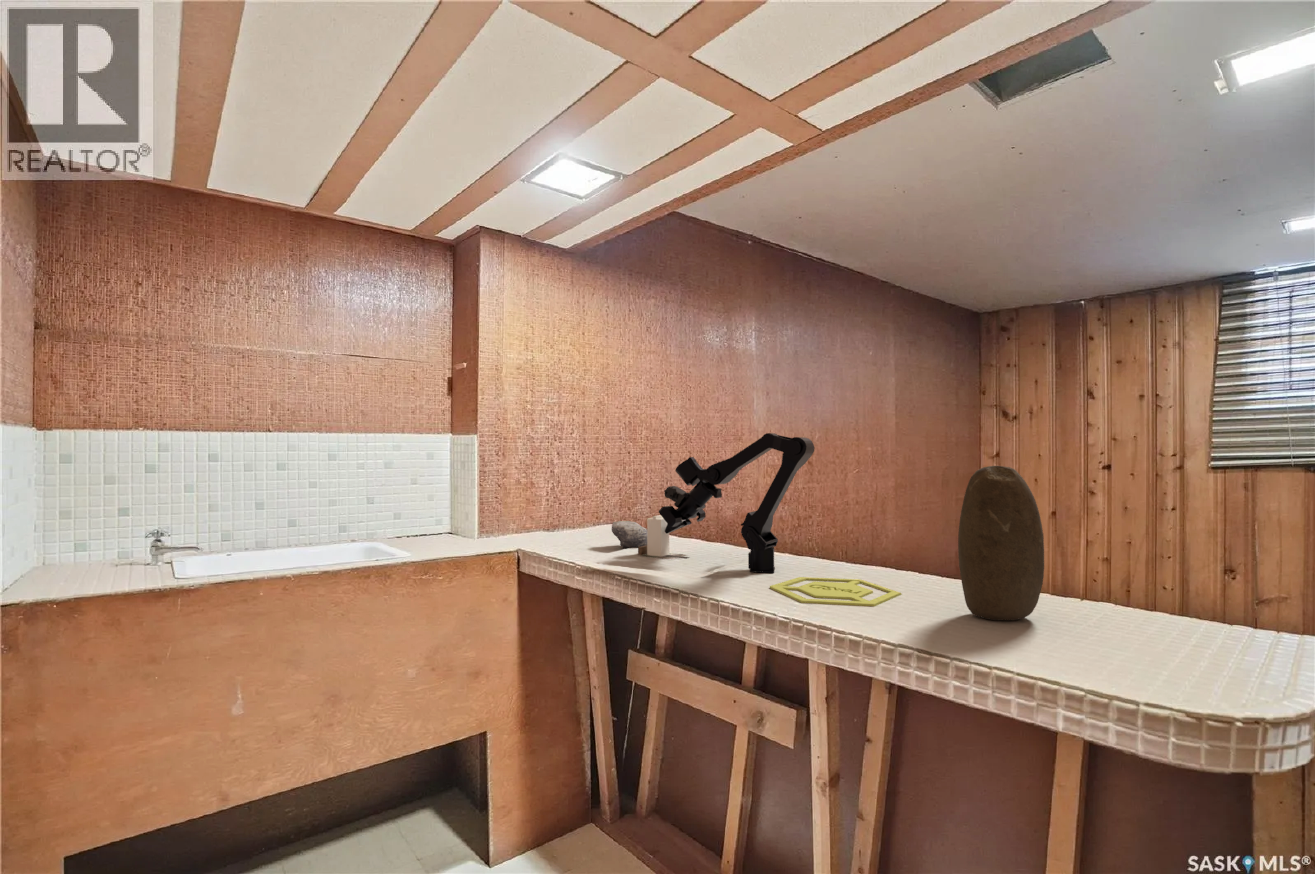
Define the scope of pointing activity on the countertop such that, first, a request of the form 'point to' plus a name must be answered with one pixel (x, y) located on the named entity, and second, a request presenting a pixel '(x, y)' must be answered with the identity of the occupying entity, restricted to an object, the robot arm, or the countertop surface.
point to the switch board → (643, 550)
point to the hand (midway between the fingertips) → (666, 532)
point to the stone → (1000, 545)
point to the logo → (834, 591)
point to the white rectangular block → (657, 537)
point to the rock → (630, 534)
